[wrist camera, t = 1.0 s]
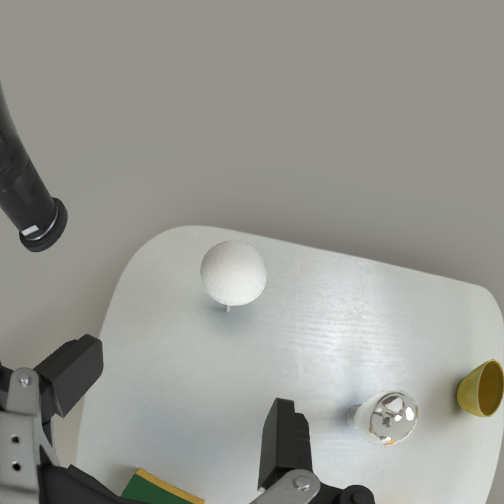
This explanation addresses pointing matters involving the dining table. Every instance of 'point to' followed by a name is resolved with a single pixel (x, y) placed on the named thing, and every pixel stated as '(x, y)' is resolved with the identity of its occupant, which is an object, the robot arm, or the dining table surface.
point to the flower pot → (482, 389)
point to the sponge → (156, 491)
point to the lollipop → (233, 273)
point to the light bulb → (385, 417)
